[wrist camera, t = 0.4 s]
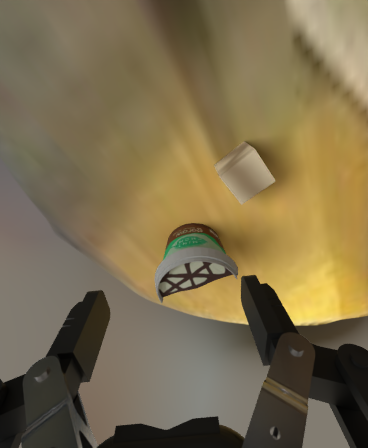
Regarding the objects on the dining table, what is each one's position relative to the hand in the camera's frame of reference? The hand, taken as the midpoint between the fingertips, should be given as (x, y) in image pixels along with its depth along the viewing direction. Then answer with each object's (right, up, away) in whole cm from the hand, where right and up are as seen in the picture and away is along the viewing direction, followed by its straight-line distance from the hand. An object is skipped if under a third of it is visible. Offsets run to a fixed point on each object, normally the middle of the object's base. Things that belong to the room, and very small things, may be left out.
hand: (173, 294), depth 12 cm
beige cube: (+8, +12, +18) cm, 23 cm away
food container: (+1, +2, +24) cm, 24 cm away
